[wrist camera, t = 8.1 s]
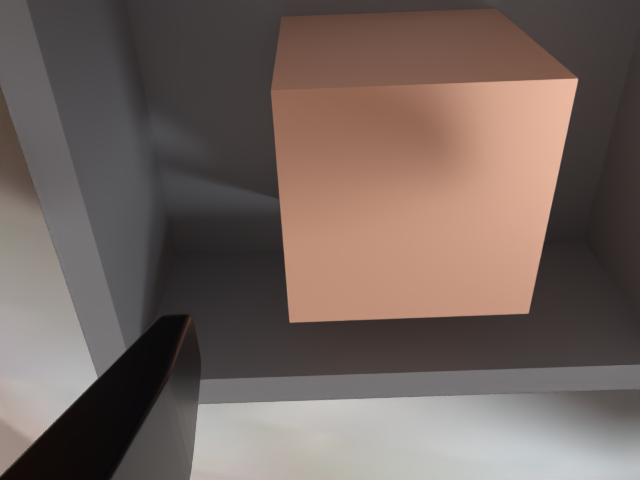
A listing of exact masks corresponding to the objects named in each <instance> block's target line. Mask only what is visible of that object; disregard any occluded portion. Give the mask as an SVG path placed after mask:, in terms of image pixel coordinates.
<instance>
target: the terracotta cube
mask: <svg viewBox="0 0 640 480" xmlns="http://www.w3.org/2000/svg"><path fill="white" fill-rule="evenodd" d="M577 83H578V78H577V77H576V76H575V75H574V74H573V73H571V72H570V71H569V70H568V69H567V68H566V67H564V66H563V65H562V64H561V63H560V62H558V61H557V60H556V59H555V58H554V57H553V56H551V55H550V54H549V53H548V52H547V51H546V50H544V49H543V48H542V47H541V46H540V45H539V44H537V43H536V42H535V41H534V40H533V39H532V38H530V37H529V36H528V35H527V34H526V33H525V32H523V31H522V30H521V29H520V28H519V27H517V26H516V25H515V24H514V23H513V22H512V21H510V20H509V19H508V18H507V17H506V16H505V15H503V14H502V13H501V12H500V11H499V10H498V9H496V8H494V9H469V10H443V11H417V12H391V13H365V14H339V15H313V16H288V17H281V24H280V31H279V38H278V45H277V51H276V58H275V65H274V72H273V79H272V86H271V98H272V111H273V123H274V136H275V148H276V160H277V173H278V185H279V197H280V210H281V222H282V235H283V247H284V259H285V272H286V284H287V296H288V309H289V321H290V323H292V322H318V321H345V320H372V319H398V318H425V317H452V316H478V315H505V314H529V309H530V304H531V300H532V295H533V290H534V286H535V281H536V276H537V271H538V267H539V262H540V257H541V253H542V248H543V243H544V239H545V234H546V229H547V224H548V220H549V215H550V210H551V206H552V201H553V196H554V191H555V187H556V182H557V177H558V173H559V168H560V163H561V158H562V154H563V149H564V144H565V140H566V135H567V130H568V125H569V121H570V116H571V111H572V107H573V102H574V97H575V92H576V88H577Z"/></svg>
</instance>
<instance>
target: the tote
mask: <svg viewBox="0 0 640 480" xmlns="http://www.w3.org/2000/svg"><path fill="white" fill-rule="evenodd" d="M494 8H496V9H498V10H499V11H500V12H501V13H502V14H503V15H505V16H506V17H507V18H508V19H509V20H510V21H512V22H513V23H514V24H515V25H516V26H517V27H519V28H520V29H521V30H522V31H523V32H525V33H526V34H527V35H528V36H529V37H530V38H532V39H533V40H534V41H535V42H536V43H537V44H539V45H540V46H541V47H542V48H543V49H544V50H546V51H547V52H548V53H549V54H550V55H551V56H553V57H554V58H555V59H556V60H557V61H558V62H560V63H561V64H562V65H563V66H564V67H566V68H567V69H568V70H569V71H570V72H571V73H573V74H574V75H575V76H576V77H577V78H578V83H577V88H576V92H575V97H574V102H573V107H572V111H571V116H570V121H569V125H568V130H567V135H566V140H565V144H564V149H563V154H562V158H561V163H560V168H559V173H558V177H557V182H556V187H555V191H554V196H553V201H552V206H551V210H550V215H549V220H548V224H547V229H546V234H545V239H544V243H543V248H542V253H541V257H540V262H539V267H538V271H537V276H536V281H535V286H534V290H533V295H532V300H531V304H530V309H529V314H505V315H478V316H452V317H425V318H398V319H372V320H345V321H318V322H292V323H290V321H289V309H288V296H287V284H286V272H285V259H284V247H283V235H282V222H281V210H280V197H279V185H278V173H277V160H276V148H275V136H274V123H273V111H272V98H271V86H272V79H273V72H274V65H275V58H276V51H277V45H278V38H279V31H280V24H281V17H288V16H313V15H339V14H365V13H391V12H417V11H443V10H469V9H494ZM0 86H1V89H2V92H3V95H4V98H5V101H6V104H7V107H8V110H9V113H10V116H11V119H12V122H13V125H14V128H15V131H16V134H17V137H18V140H19V143H20V146H21V149H22V152H23V155H24V158H25V161H26V164H27V167H28V170H29V173H30V176H31V179H32V182H33V185H34V188H35V191H36V194H37V197H38V200H39V203H40V206H41V209H42V212H43V215H44V218H45V221H46V224H47V227H48V230H49V233H50V236H51V239H52V242H53V245H54V248H55V251H56V254H57V257H58V260H59V263H60V266H61V269H62V272H63V275H64V278H65V281H66V284H67V287H68V290H69V293H70V296H71V299H72V302H73V305H74V308H75V311H76V314H77V316H78V319H79V322H80V325H81V328H82V331H83V334H84V337H85V340H86V343H87V346H88V349H89V352H90V355H91V358H92V361H93V364H94V367H95V370H96V373H97V376H98V378H99V377H100V376H101V375H102V374H103V373H104V372H105V371H106V370H107V369H108V368H109V367H110V366H111V365H112V364H113V363H114V362H115V361H116V360H117V359H118V358H119V357H120V356H121V355H122V354H123V353H124V352H125V351H126V350H127V349H128V348H129V347H130V346H131V345H132V344H133V343H134V342H135V341H136V340H137V339H138V338H139V337H140V336H141V335H142V334H143V333H144V332H145V331H146V330H147V329H148V328H149V327H150V326H151V325H152V324H153V323H154V322H155V321H156V320H157V319H158V318H159V317H160V316H162V315H166V314H189V315H191V316H192V318H193V320H194V324H195V329H196V335H197V340H198V345H199V350H200V355H201V378H200V388H199V399H198V404H218V403H247V402H276V401H305V400H334V399H363V398H393V397H422V396H451V395H480V394H509V393H538V392H568V391H597V390H626V389H640V0H0Z"/></svg>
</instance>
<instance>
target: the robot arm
mask: <svg viewBox="0 0 640 480" xmlns="http://www.w3.org/2000/svg"><path fill="white" fill-rule="evenodd" d="M200 378H201V355H200V350H199V345H198V340H197V335H196V329H195V324H194V320H193V318H192V316H191V315H189V314H166V315H162V316H160V317H159V318H158V319H157V320H156V321H155V322H154V323H153V324H152V325H151V326H150V327H149V328H148V329H147V330H146V331H145V332H144V333H143V334H142V335H141V336H140V337H139V338H138V339H137V340H136V341H135V342H134V343H133V344H132V345H131V346H130V347H129V348H128V349H127V350H126V351H125V352H124V353H123V354H122V355H121V356H120V357H119V358H118V359H117V360H116V361H115V362H114V363H113V364H112V365H111V366H110V367H109V368H108V369H107V370H106V371H105V372H104V373H103V374H102V375H101V376H100V377H99V378H98V379H97V380H96V381H95V382H94V383H93V384H92V385H91V386H90V387H89V388H88V389H87V390H86V391H85V392H84V393H83V394H82V395H81V396H80V397H79V398H78V399H77V400H76V401H75V402H74V403H73V404H72V405H71V406H70V407H69V408H68V409H67V410H66V411H65V412H64V413H63V414H62V415H61V416H60V417H59V418H58V419H57V420H56V421H55V422H54V423H53V424H52V425H51V426H50V427H49V428H48V429H47V430H46V431H45V432H44V433H43V434H42V435H41V436H40V437H39V438H38V439H37V440H36V441H35V442H34V443H33V444H32V445H31V446H30V447H29V448H28V449H27V450H26V451H25V452H24V453H23V454H22V455H21V456H20V457H19V458H18V459H17V460H16V461H15V462H14V463H13V464H12V465H11V466H10V467H9V468H8V469H7V470H6V471H5V472H4V473H3V474H2V475H1V476H0V480H190V475H191V468H192V460H193V451H194V441H195V430H196V420H197V409H198V399H199V388H200Z"/></svg>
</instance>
